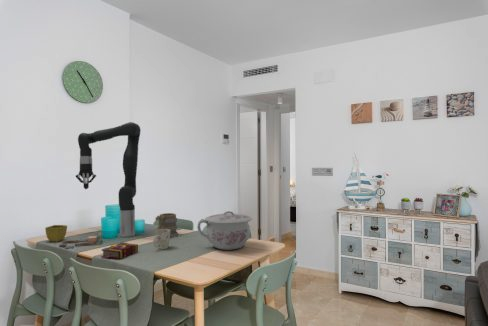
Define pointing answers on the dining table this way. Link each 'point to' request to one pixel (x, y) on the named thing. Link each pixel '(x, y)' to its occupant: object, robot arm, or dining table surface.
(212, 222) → the chamber pot
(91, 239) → the terracotta block
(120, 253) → the decorative book
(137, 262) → the dining table surface
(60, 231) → the flower pot
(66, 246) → the trap pads
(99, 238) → the lane
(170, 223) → the tankard
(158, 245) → the mug
